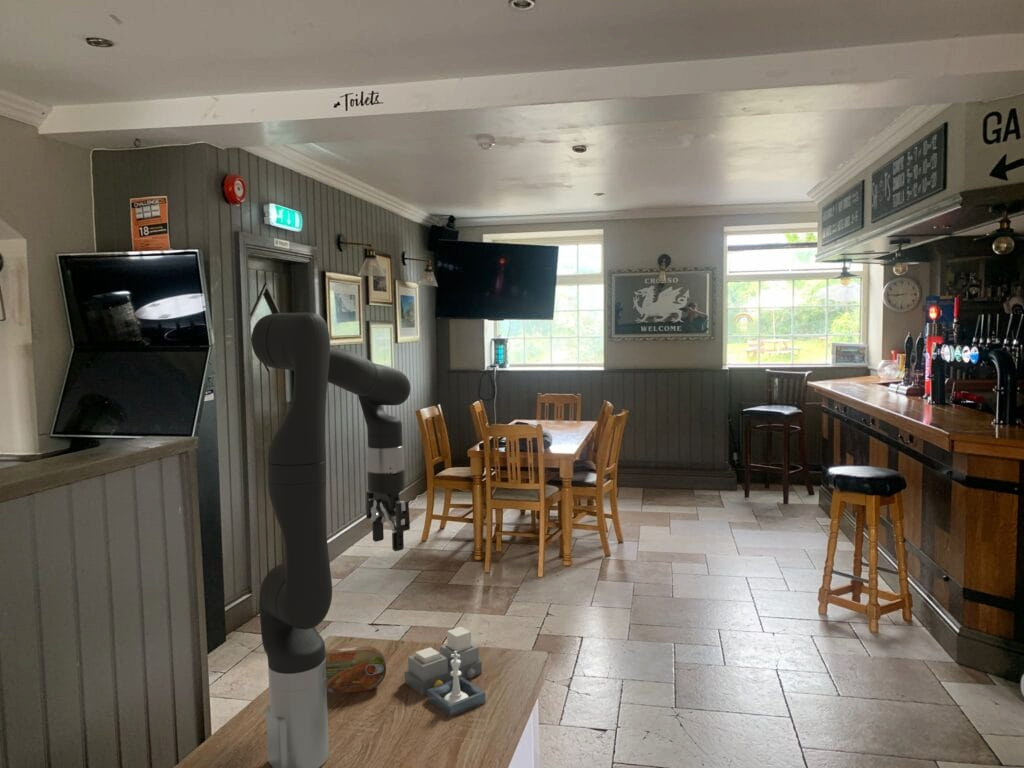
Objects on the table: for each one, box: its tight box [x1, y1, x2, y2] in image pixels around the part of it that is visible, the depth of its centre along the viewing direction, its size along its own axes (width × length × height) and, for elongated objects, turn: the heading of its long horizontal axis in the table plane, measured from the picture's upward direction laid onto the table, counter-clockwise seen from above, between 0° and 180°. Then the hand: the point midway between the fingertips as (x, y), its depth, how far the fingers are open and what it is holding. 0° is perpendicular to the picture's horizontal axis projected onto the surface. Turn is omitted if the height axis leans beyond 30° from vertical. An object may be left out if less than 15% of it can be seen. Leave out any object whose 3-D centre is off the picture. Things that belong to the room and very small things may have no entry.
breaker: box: [446, 626, 472, 652], centre depth 150 cm, size 4×4×3 cm
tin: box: [325, 645, 387, 695], centre depth 144 cm, size 15×3×8 cm, turn 99°
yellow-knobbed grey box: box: [403, 642, 483, 697], centre depth 148 cm, size 14×8×6 cm, turn 128°
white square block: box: [414, 646, 440, 664], centre depth 146 cm, size 4×4×3 cm
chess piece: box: [443, 651, 469, 704], centre depth 138 cm, size 5×5×10 cm
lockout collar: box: [426, 677, 487, 718], centre depth 139 cm, size 8×8×2 cm
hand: (388, 545), depth 147 cm, fingers open, 8 cm apart
